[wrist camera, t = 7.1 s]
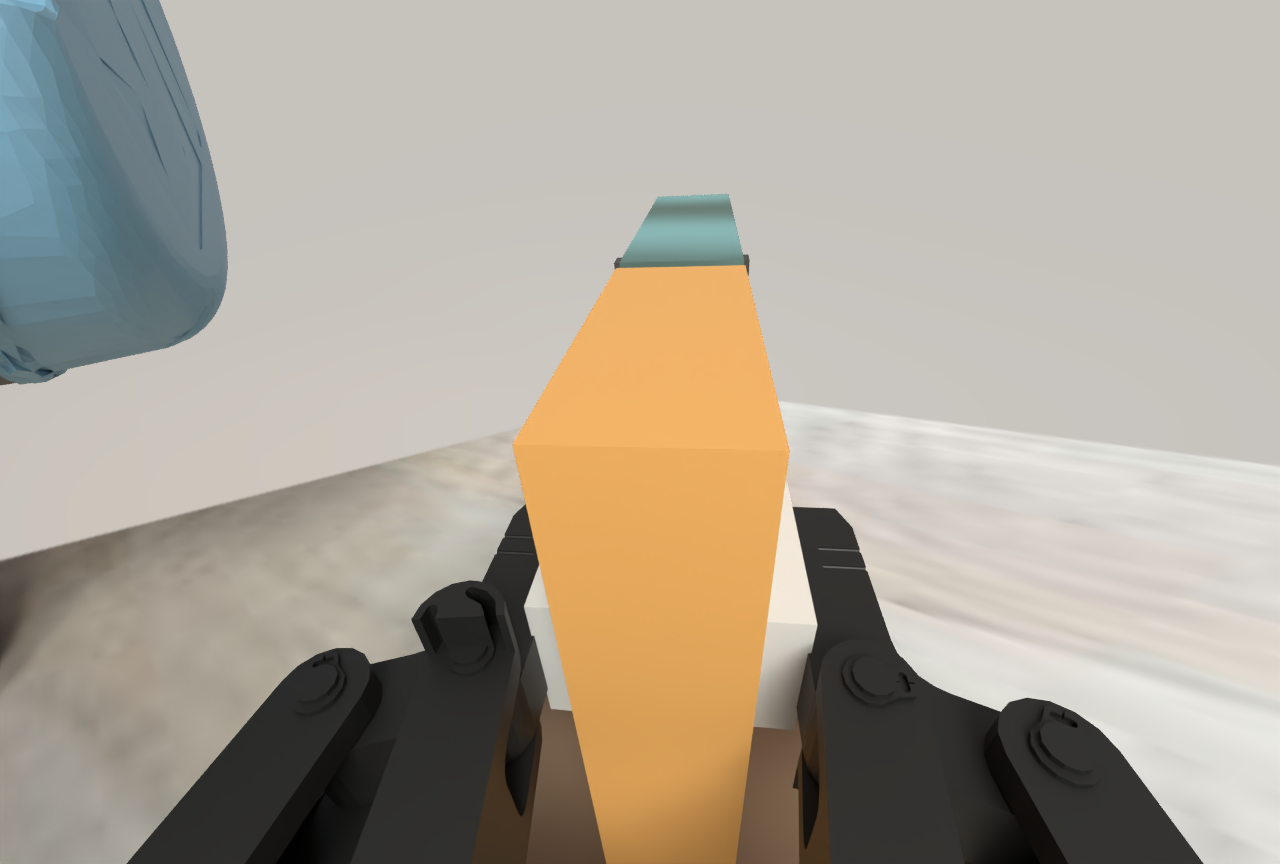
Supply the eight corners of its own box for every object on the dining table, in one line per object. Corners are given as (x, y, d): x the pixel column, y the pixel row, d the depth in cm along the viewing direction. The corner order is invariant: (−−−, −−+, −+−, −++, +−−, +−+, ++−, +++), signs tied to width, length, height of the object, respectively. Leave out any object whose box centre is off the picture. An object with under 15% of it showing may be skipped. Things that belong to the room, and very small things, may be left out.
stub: (729, 904, 10) (789, 451, 4) (612, 889, 10) (512, 445, 4) (723, 639, 15) (745, 264, 9) (643, 634, 15) (616, 268, 10)
